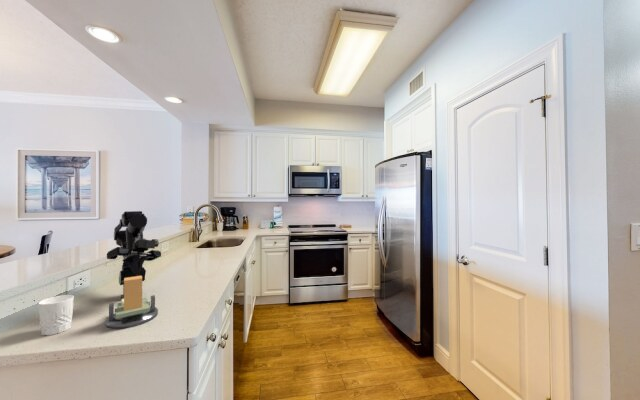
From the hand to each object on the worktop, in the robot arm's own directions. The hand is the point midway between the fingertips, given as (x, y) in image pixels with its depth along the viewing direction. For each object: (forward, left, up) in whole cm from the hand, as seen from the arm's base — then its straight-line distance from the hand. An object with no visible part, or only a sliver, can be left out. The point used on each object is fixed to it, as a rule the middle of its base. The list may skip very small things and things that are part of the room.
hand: (137, 274), depth 99 cm
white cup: (+3, -22, -13) cm, 26 cm away
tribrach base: (+11, -3, -13) cm, 17 cm away
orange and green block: (+11, -3, -9) cm, 14 cm away
